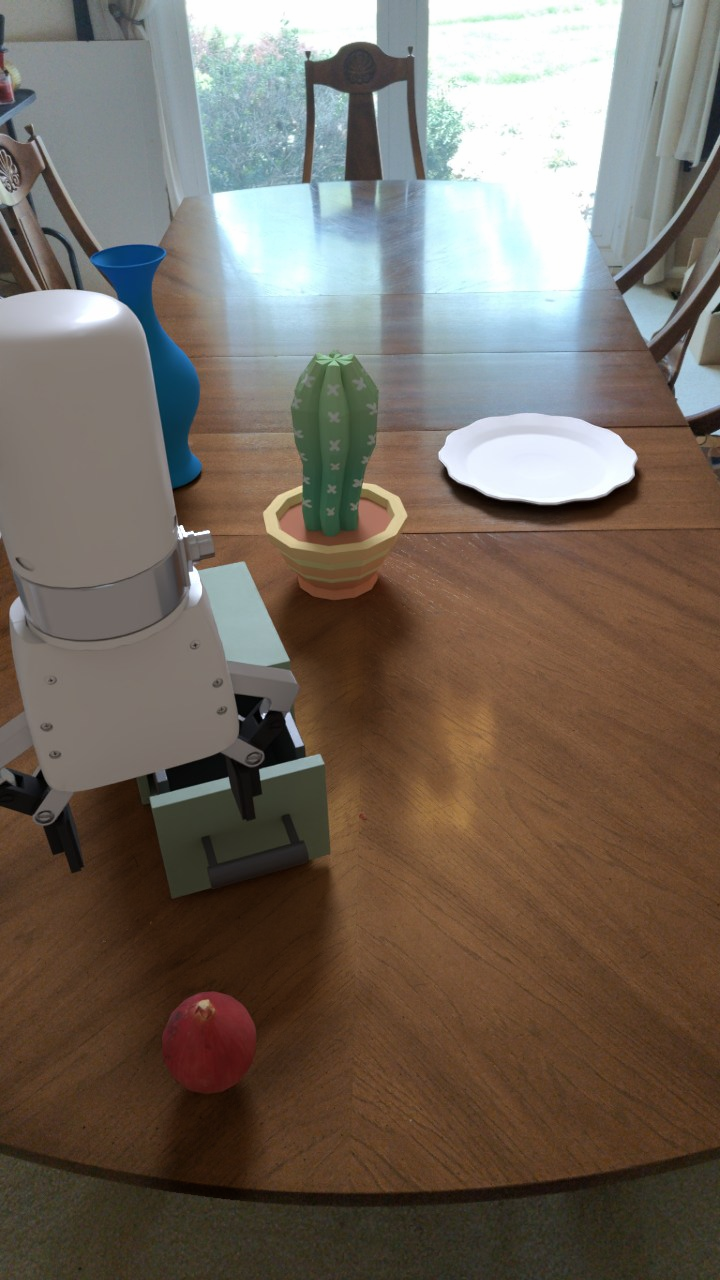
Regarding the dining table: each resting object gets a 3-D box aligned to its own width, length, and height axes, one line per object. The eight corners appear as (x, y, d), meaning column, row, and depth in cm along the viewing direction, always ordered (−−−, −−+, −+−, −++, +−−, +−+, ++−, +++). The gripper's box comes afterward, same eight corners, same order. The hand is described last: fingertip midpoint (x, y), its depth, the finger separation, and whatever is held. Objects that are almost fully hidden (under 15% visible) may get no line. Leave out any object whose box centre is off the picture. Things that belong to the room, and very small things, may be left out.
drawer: (348, 897, 73) (344, 807, 67) (183, 946, 70) (162, 856, 64) (281, 734, 87) (273, 647, 81) (141, 769, 84) (122, 681, 78)
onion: (156, 1105, 62) (136, 1036, 57) (190, 1023, 66) (174, 953, 61) (244, 1126, 61) (230, 1058, 56) (272, 1041, 65) (262, 971, 60)
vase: (228, 462, 131) (202, 245, 114) (176, 505, 122) (140, 277, 105) (153, 446, 135) (117, 235, 118) (97, 487, 126) (50, 265, 109)
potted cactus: (433, 564, 110) (438, 348, 95) (355, 634, 100) (347, 405, 85) (322, 527, 117) (310, 320, 102) (239, 589, 107) (213, 369, 92)
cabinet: (299, 765, 86) (290, 660, 79) (142, 805, 82) (118, 700, 75) (255, 659, 98) (244, 560, 90) (117, 691, 94) (94, 591, 87)
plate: (418, 501, 122) (419, 487, 120) (462, 417, 140) (463, 404, 139) (625, 528, 115) (627, 514, 114) (642, 436, 134) (644, 423, 133)
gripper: (261, 501, 50) (287, 744, 61) (-97, 576, 46) (-2, 825, 56) (307, 576, 44) (327, 830, 55) (-96, 670, 40) (9, 928, 50)
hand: (160, 827), depth 55 cm, fingers open, 9 cm apart
